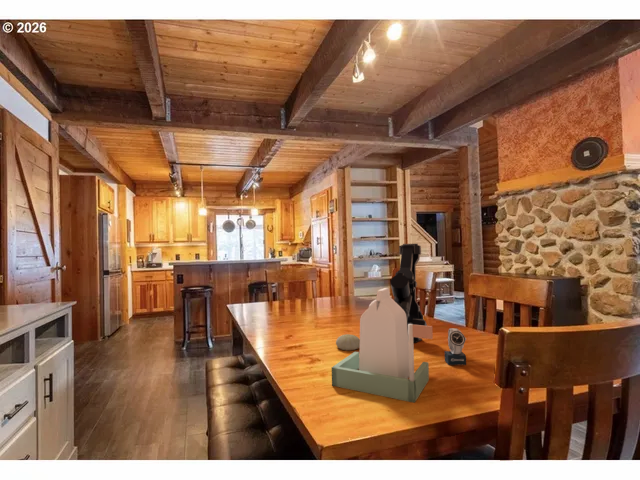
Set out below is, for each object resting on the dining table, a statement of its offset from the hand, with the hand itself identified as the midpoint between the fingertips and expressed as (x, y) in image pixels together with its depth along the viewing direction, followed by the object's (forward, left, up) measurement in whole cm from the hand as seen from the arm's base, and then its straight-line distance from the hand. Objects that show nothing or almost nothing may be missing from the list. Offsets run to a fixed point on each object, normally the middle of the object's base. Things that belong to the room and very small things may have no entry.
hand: (391, 348), depth 106 cm
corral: (+9, +5, -7) cm, 12 cm away
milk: (+6, +2, -7) cm, 10 cm away
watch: (-20, +11, -7) cm, 24 cm away
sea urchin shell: (-10, -26, -7) cm, 28 cm away
